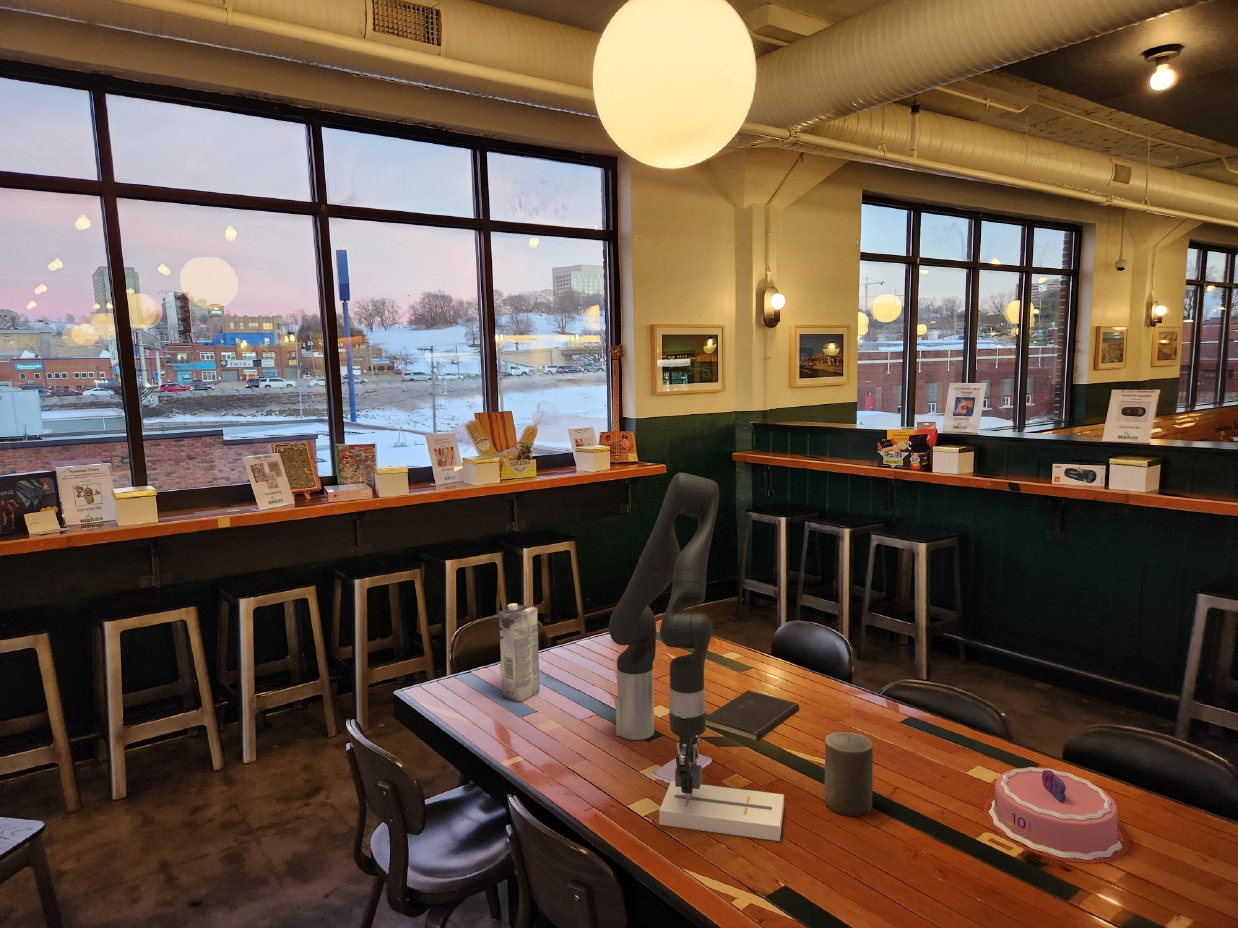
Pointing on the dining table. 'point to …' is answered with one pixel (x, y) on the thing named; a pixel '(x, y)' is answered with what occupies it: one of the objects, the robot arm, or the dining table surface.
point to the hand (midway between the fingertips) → (688, 787)
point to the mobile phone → (668, 770)
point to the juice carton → (519, 652)
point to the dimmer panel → (724, 811)
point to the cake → (1057, 815)
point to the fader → (695, 779)
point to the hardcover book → (752, 714)
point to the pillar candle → (848, 773)
